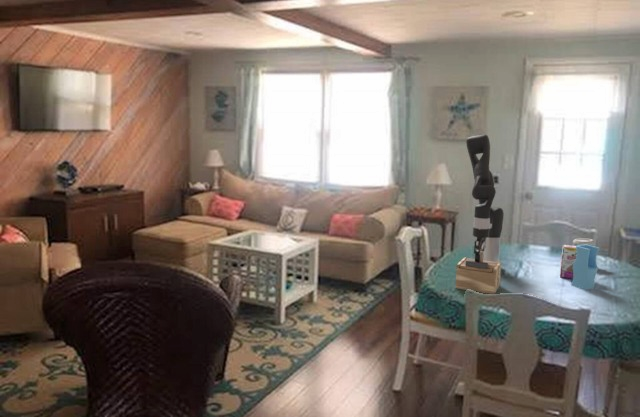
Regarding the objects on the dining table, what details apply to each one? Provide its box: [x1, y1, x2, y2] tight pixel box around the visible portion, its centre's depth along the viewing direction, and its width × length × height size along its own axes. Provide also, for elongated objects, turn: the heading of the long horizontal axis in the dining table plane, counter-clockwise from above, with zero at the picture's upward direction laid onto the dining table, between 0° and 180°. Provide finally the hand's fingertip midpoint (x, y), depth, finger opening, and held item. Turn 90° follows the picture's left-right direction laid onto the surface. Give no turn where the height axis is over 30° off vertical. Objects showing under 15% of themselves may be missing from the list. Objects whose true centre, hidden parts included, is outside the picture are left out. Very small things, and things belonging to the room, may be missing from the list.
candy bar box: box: [559, 244, 577, 280], centre depth 280 cm, size 11×5×16 cm, turn 71°
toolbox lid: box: [460, 257, 498, 272], centre depth 263 cm, size 15×15×4 cm
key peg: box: [480, 251, 484, 262], centre depth 263 cm, size 3×3×10 cm
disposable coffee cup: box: [572, 238, 595, 246], centre depth 302 cm, size 11×11×15 cm
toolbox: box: [455, 256, 503, 295], centre depth 264 cm, size 15×18×12 cm
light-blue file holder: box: [570, 244, 600, 291], centre depth 265 cm, size 8×8×20 cm
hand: (479, 259), depth 263 cm, fingers open, 8 cm apart
